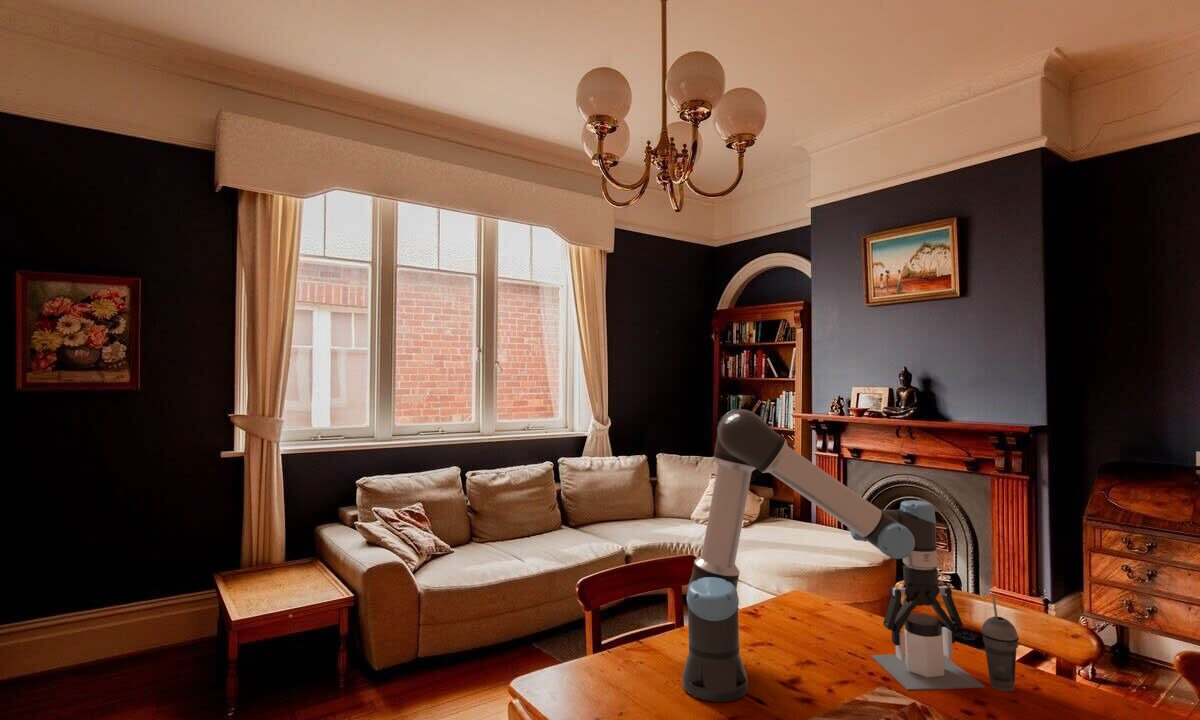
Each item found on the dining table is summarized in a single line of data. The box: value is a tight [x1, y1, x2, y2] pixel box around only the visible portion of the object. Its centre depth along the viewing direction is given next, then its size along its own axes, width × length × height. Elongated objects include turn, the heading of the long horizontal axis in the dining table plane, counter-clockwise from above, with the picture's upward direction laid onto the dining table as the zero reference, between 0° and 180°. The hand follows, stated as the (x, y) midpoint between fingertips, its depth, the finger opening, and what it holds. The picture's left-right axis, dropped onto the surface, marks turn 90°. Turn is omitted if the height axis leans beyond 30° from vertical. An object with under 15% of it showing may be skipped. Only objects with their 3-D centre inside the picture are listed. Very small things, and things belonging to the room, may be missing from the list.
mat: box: [870, 653, 986, 691], centre depth 151 cm, size 18×18×1 cm
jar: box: [903, 613, 945, 678], centre depth 152 cm, size 9×8×12 cm
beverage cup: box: [981, 595, 1019, 692], centre depth 143 cm, size 7×7×20 cm
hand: (924, 657), depth 151 cm, fingers open, 11 cm apart
